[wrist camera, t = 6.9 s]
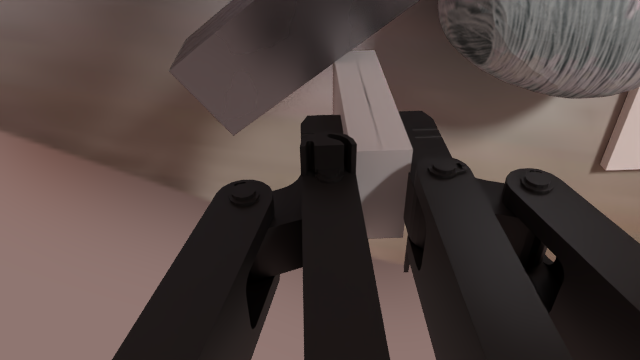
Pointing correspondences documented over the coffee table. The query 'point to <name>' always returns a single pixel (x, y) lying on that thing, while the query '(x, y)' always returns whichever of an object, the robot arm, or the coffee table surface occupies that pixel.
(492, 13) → the grey streaked egg shape
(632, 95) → the board
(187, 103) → the coffee table surface
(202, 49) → the bar
